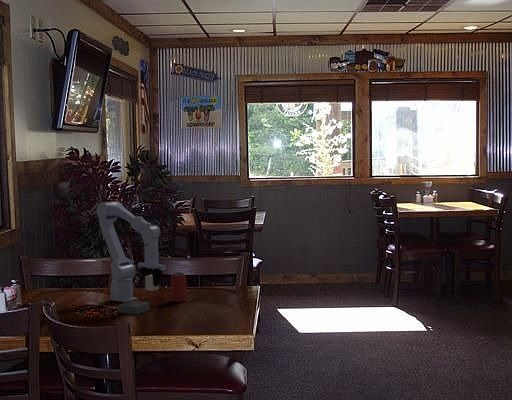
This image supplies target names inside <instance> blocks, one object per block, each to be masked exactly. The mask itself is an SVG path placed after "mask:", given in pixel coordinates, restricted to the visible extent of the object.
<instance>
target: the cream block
mask: <svg viewBox="0 0 512 400" xmlns="http://www.w3.org/2000/svg"><path fill="white" fill-rule="evenodd" d="M144 283H145V284H144V285H145V290H146V291H151V292H153V291H154V292H155V291H157V290H158V291H159V290H160V283H159V284H158V286H154V284H153V276H152V274H151V275H147V276H145V280H144Z"/></svg>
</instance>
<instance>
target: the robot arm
mask: <svg viewBox="0 0 512 400" xmlns="http://www.w3.org/2000/svg"><path fill="white" fill-rule="evenodd" d="M96 215H97V217H98V222H99V226H100V230H101V232H102V235H103V238H104V240H105V243H106V246H107V248H108V250H109V251H108V252H109V254H110V256H111V259H112V263H111V264H110V269H111V270H110V271H111V277H112V279H113V280H112V281H111V283H110V298H109V300H110V301H113V302H114V301H115V302H122V303H126V302H129V301H136V300H137V299H138V298H137V297H135V296H134V297H133V295H134V294H133V291H134V290H133V279H134V277H135V275H136V272H137V270H136V267H135V265H134V264H133V263H132V261H131V259H130V258H128V257H127V256H126V255H125V253H124V250H123V247H122V244H121V241H120V239H119V236H118V233H117V232H116V229H115V226H114V223H115V222H116V220H117V219H118V217H120V218H122V219H123V220H125V221H126V222H128V223H130V227H131V228H132V229H133V230H135V231H136V232H138V233H139V234H141V238H142V239H143V240H142V241H143V244H144V245H143V246H144V262H138V263H137V268H139V269H140V270H139V271H140V273H141V274H142V276H143V279H144V280H143V281H145V276H147V275H152V276H153V284H154V286H158V284H159V285H160V281H161V280H160V279H161V276H162V274H163V272H164V271H166V269H167V267H166V266H167V265H165V264H161V263H159V238H160V236H161V234H162V233H161V231H162V230H161V229H160V227H159V226H158V225H156V224H153V225H152V223H151V222H148V221H146V219H144V217H143V216H140V215H139V216H135V215H134V214H133V213H131V212H130V211H129V210H128V209H126V208H125V207H124V205H123V204H122V203H121V202H120V201H118V200H115V201H105V202H100V203H99V204H98V205H97V207H96Z"/></svg>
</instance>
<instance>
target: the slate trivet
mask: <svg viewBox="0 0 512 400" xmlns="http://www.w3.org/2000/svg"><path fill="white" fill-rule="evenodd" d="M150 305H151V304H150V302H148V301H138V300H137V301H136V300H131V301H127V302H123V303H121V304H118V305H117V309H118V313H119V314H129V315H139V314H142V313H144V312H147V311H150V308H151V307H150Z"/></svg>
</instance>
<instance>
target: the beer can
mask: <svg viewBox="0 0 512 400" xmlns="http://www.w3.org/2000/svg"><path fill="white" fill-rule="evenodd" d="M186 300H187V277H186V275H185V273H184V272H173V273H171V276H170V301H171V302H173V303H184V302H186Z"/></svg>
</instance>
